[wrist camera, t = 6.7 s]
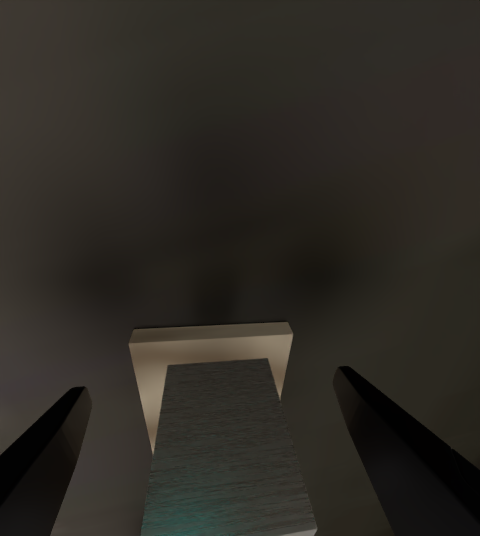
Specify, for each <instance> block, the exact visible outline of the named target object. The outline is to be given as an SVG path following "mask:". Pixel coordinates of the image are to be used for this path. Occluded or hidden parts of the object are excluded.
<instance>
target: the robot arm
mask: <svg viewBox="0 0 480 536" xmlns="http://www.w3.org/2000/svg"><path fill="white" fill-rule="evenodd" d="M333 387H334V390H335V393H336V396H337V399H338V402H339V405H340V408H341V411H342V414H343V417H344V420H345V423H346V426H347V428H348V431H349V433H350V436H351V438H352V440H353V442H354V445H355V447H356V449H357V451H358V454H359V456H360V458H361V460H362V463H363V465H364V467H365V469H366V472H367V474H368V476H369V478H370V481H371V483H372V485H373V487H374V490H375V492H376V494H377V497H378V499H379V501H380V503H381V506H382V508H383V510H384V512H385V515H386V517H387V519H388V521H389V524H390V526H391V528H392V530H393V533H394V535H395V536H480V470H479V469H478V468H477V467H475V466H474V465H473V464H472V463H470V462H469V461H468V460H466V459H465V458H464V457H463V456H461V455H460V454H459V453H458V452H456V451H455V450H454V449H451V447H450V446H449V445H447V444H446V443H445V442H444V441H442V440H441V439H440V438H439V437H437V436H436V435H435V434H434V433H432V432H431V431H430V430H429V429H427V428H426V427H425V426H424V425H422V424H421V423H420V422H419V421H417V420H416V419H415V418H413V417H412V416H411V415H410V414H408V413H407V412H406V411H405V410H403V409H402V408H401V407H400V406H398V405H397V404H396V403H395V402H393V401H392V400H391V399H390V398H388V397H387V396H386V395H385V394H383V393H382V392H381V391H380V390H378V389H377V388H376V387H375V386H373V385H372V384H371V383H369V382H368V381H367V380H366V379H364V378H363V377H362V376H361V375H359V374H358V373H357V372H356V371H354V370H353V369H352V368H351V367H349V366H340V367H338V368H337V370H336V372H335V375H334V378H333ZM91 409H92V400H91V397H90V395H89V392H88V389H87V388H86V387H84V386H83V387H73V388H71V389H70V390H69V391H68V392H66V393H65V394H64V395H63V396H62V397H61V398H60V399H59V400H58V401H57V402H56V403H55V404H54V405H53V406H52V407H51V408H50V409H49V410H47V411H46V412H45V413H44V414H43V415H42V416H41V417H40V418H39V419H38V420H37V421H36V422H35V423H34V424H33V425H32V426H31V427H30V428H28V429H27V430H26V431H25V432H24V433H23V434H22V435H21V436H20V437H19V438H18V439H17V440H16V441H15V442H14V443H13V444H12V445H11V446H9V447H8V448H7V449H6V450H5V451H4V452H3V453H2V454H1V455H0V536H50V534H51V531H52V528H53V526H54V523H55V520H56V518H57V515H58V512H59V510H60V507H61V504H62V502H63V499H64V496H65V493H66V491H67V488H68V485H69V483H70V480H71V477H72V475H73V472H74V469H75V466H76V463H77V461H78V457H79V454H80V450H81V446H82V443H83V439H84V435H85V431H86V428H87V424H88V420H89V416H90V413H91Z"/></svg>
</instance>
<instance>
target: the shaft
mask: <svg viewBox="0 0 480 536" xmlns="http://www.w3.org/2000/svg"><path fill="white" fill-rule="evenodd" d="M316 531H317V526H316V522H315V519H314V515H313V512H312V509H311V505H310V502H309V498H308V495H307V491H306V488H305V484H304V481H303V478H302V474H301V471H300V467H299V464H298V460H297V457H296V453H295V450H294V447H293V443H292V440H291V436H290V433H289V429H288V426H287V422H286V419H285V416H284V412H283V409H282V405H281V402H280V398H279V395H278V391H277V388H276V384H275V381H274V378H273V374H272V371H271V367H270V364H269V360H268V358H261V359H247V360H232V361H218V362H203V363H189V364H174V365H167V372H166V378H165V384H164V391H163V397H162V403H161V409H160V416H159V422H158V428H157V435H156V441H155V447H154V453H153V460H152V466H151V472H150V479H149V485H148V491H147V497H146V504H145V510H144V516H143V523H142V529H141V535H140V536H314V534H315V532H316Z"/></svg>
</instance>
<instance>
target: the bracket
mask: <svg viewBox="0 0 480 536" xmlns="http://www.w3.org/2000/svg"><path fill="white" fill-rule="evenodd" d="M292 338H293V333H292V330H291V328H290V326H289V324H288V322H274V323H253V324H233V325H212V326H191V327H170V328H150V329H134V330H133V333H132V335H131V338H130V341H129V348H130V353H131V357H132V362H133V366H134V371H135V375H136V380H137V384H138V389H139V393H140V398H141V402H142V407H143V412H144V416H145V421H146V425H147V430H148V434H149V439H150V443H151V448H152V452H153V453H154V447H155V441H156V435H157V428H158V422H159V416H160V409H161V403H162V397H163V391H164V384H165V378H166V372H167V365H174V364H189V363H203V362H218V361H232V360H247V359H261V358H268V360H269V364H270V367H271V371H272V374H273V378H274V381H275V384H276V388H277V391H278V395H279V398H280V397H281V392H282V387H283V382H284V377H285V372H286V367H287V362H288V358H289V353H290V348H291V343H292Z"/></svg>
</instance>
